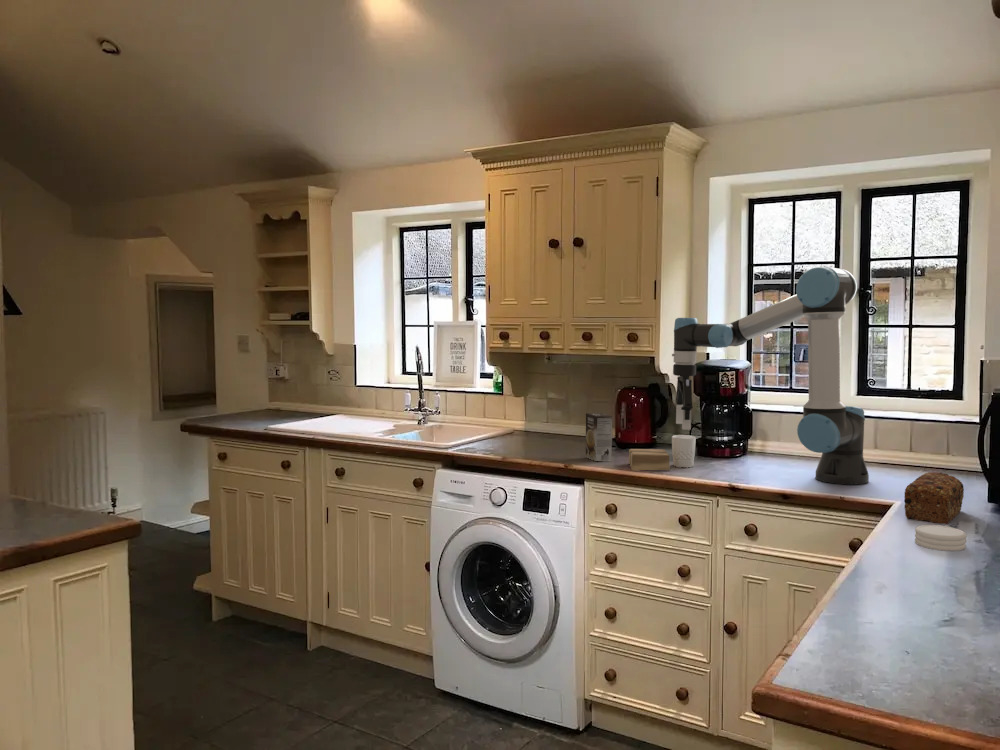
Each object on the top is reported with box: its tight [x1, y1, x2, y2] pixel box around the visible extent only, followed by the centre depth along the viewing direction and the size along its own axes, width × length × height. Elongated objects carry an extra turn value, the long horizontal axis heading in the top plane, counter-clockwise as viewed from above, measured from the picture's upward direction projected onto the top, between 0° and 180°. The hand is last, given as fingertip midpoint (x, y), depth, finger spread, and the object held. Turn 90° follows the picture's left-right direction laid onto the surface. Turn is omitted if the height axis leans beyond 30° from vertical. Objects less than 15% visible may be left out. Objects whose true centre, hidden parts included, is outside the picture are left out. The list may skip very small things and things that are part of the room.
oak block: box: [628, 448, 670, 472], centre depth 272 cm, size 12×12×5 cm
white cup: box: [671, 434, 697, 468], centre depth 274 cm, size 8×8×10 cm
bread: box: [903, 471, 965, 525], centre depth 206 cm, size 19×11×10 cm, turn 140°
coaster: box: [914, 524, 967, 552], centre depth 179 cm, size 10×10×4 cm
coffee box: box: [585, 412, 613, 462], centre depth 286 cm, size 9×6×16 cm
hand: (683, 426), depth 273 cm, fingers open, 13 cm apart
